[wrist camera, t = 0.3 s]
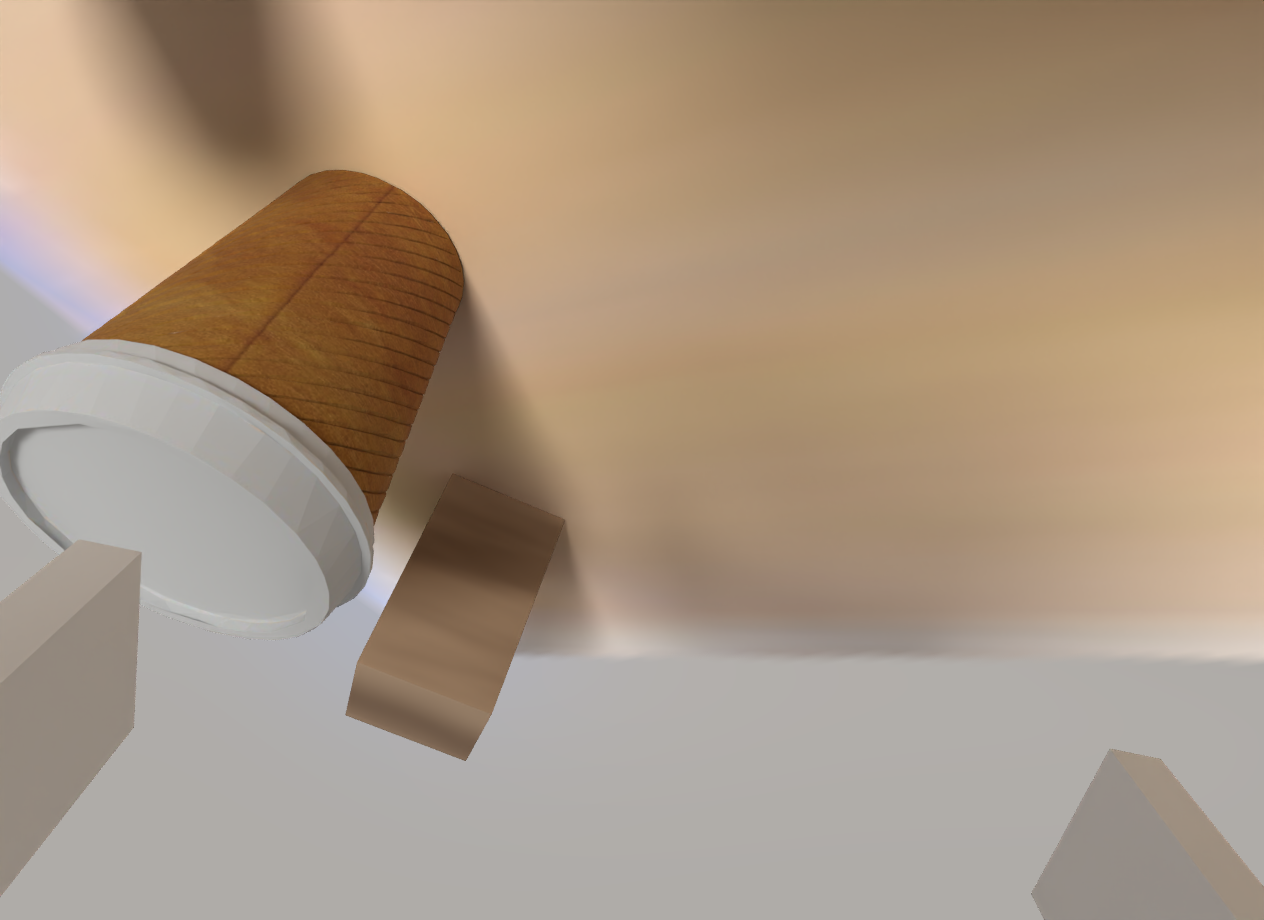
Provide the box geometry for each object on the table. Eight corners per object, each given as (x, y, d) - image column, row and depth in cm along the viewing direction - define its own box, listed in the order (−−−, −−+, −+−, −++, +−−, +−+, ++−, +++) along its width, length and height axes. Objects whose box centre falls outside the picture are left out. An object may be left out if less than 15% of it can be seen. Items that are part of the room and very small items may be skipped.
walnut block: (452, 473, 37) (357, 662, 31) (564, 519, 38) (491, 714, 32) (433, 536, 41) (345, 715, 35) (536, 577, 41) (465, 761, 35)
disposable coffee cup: (392, 400, 35) (226, 672, 27) (183, 209, 30) (-92, 469, 22) (570, 305, 29) (426, 613, 21) (346, 53, 24) (57, 326, 17)
